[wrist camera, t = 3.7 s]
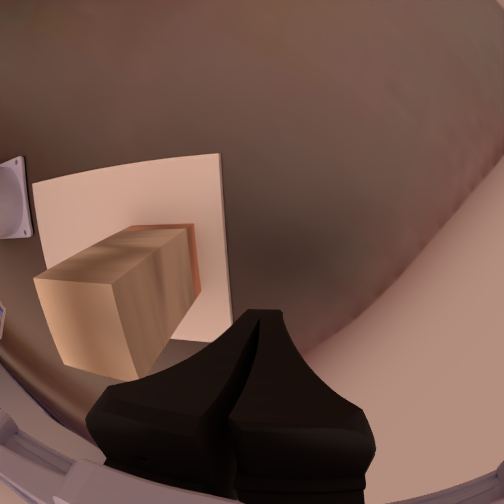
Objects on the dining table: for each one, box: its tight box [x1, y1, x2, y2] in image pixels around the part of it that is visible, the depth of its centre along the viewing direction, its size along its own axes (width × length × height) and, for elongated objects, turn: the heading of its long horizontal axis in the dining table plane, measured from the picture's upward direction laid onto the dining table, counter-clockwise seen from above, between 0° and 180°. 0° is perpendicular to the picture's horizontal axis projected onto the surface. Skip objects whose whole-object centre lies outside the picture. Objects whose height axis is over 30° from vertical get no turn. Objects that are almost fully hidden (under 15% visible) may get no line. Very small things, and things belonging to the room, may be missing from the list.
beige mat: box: [32, 153, 233, 342], centre depth 21 cm, size 18×14×1 cm
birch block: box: [33, 223, 201, 382], centre depth 16 cm, size 5×5×10 cm
